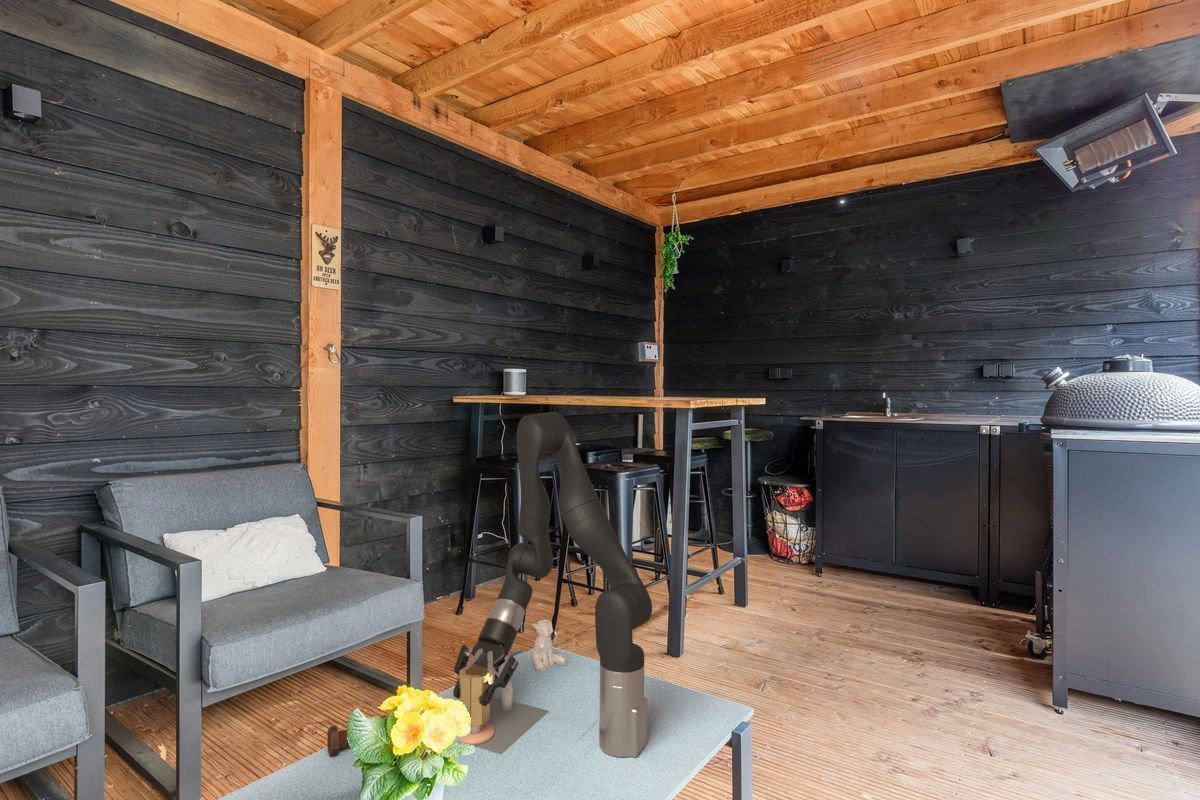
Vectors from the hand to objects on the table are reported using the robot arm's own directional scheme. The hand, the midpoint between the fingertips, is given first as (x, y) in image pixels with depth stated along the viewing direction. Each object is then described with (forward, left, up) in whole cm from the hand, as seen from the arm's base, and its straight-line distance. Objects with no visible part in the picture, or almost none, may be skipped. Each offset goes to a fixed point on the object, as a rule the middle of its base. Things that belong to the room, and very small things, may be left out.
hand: (469, 700), depth 133 cm
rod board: (0, -8, -9) cm, 12 cm away
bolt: (+19, +9, -10) cm, 23 cm away
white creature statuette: (+6, -40, -10) cm, 42 cm away
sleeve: (0, -2, -4) cm, 5 cm away
